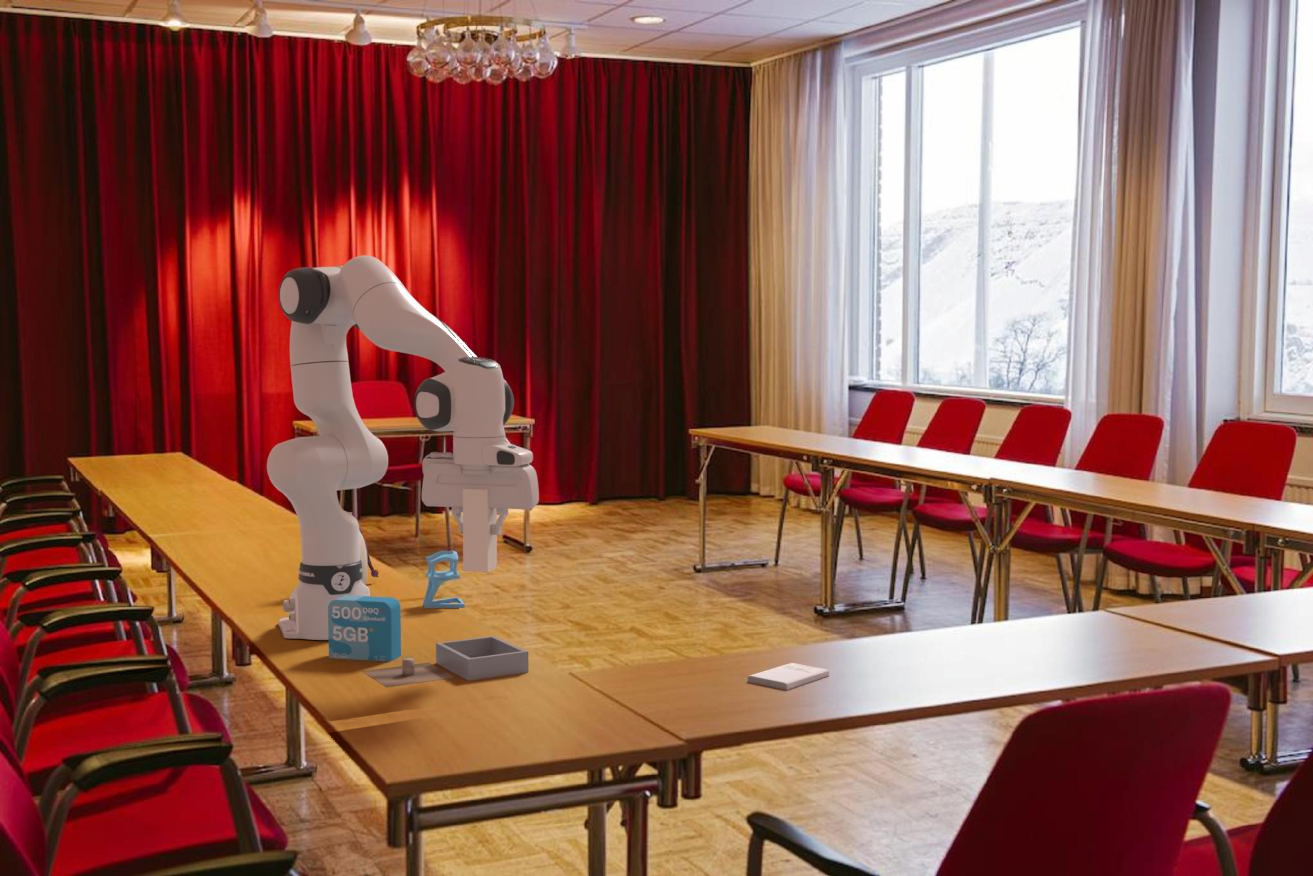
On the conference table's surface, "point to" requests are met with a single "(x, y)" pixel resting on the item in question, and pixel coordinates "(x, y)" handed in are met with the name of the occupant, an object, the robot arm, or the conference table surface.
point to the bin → (481, 658)
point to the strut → (478, 532)
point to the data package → (364, 628)
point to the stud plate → (404, 680)
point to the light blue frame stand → (441, 580)
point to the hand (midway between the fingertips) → (480, 533)
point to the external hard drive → (788, 676)
